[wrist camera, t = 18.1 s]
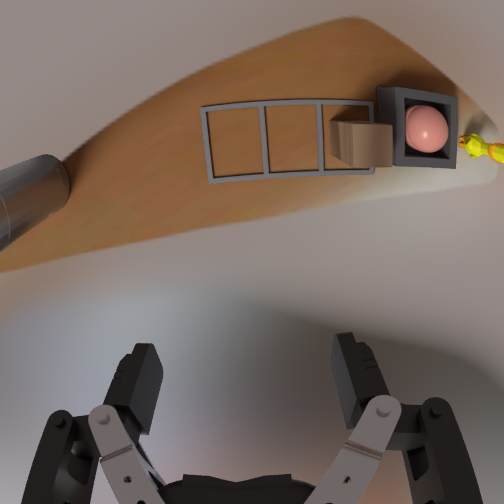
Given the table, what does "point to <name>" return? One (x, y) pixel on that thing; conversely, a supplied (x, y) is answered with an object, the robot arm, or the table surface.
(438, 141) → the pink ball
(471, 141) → the toy figure
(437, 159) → the housing
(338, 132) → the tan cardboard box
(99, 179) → the table surface
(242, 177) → the frame
